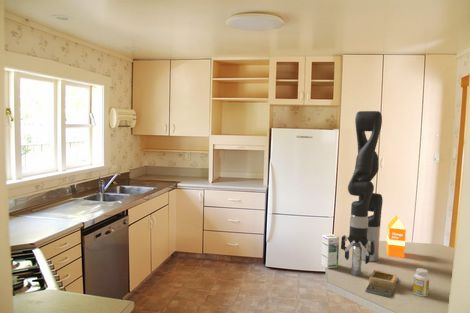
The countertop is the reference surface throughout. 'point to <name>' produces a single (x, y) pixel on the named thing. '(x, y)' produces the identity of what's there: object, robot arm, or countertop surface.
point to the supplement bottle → (421, 282)
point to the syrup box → (330, 251)
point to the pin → (356, 259)
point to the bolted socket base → (382, 283)
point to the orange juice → (396, 238)
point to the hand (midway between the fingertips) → (356, 261)
